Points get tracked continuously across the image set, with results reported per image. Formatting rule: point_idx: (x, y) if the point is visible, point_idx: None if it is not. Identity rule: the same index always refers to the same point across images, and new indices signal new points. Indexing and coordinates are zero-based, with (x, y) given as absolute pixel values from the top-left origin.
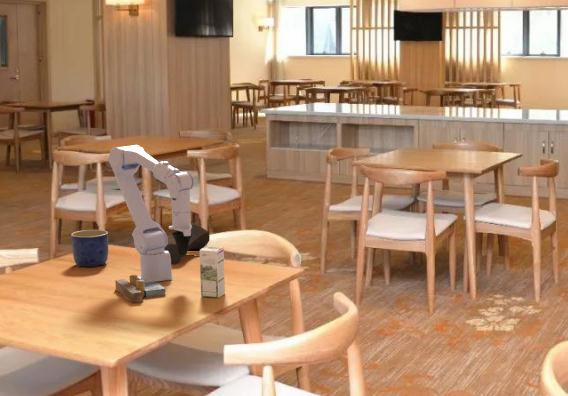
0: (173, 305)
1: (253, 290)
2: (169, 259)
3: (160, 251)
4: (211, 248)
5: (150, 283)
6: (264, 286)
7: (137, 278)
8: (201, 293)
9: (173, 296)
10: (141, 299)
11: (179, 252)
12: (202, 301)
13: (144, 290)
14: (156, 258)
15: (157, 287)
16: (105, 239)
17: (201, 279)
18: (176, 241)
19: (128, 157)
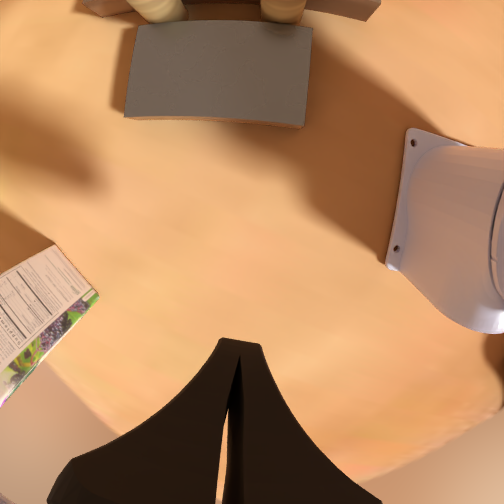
0: (15, 117)
1: (88, 396)
2: (445, 305)
3: (499, 276)
4: None
5: (272, 85)
6: (121, 430)
7: (273, 3)
8: (47, 248)
9: (103, 147)
10: (97, 11)
11: (214, 351)
12: (16, 222)
13: (148, 21)
14: (471, 222)
15: (165, 88)
16: None
17: (8, 270)
18: (211, 433)
19: None
